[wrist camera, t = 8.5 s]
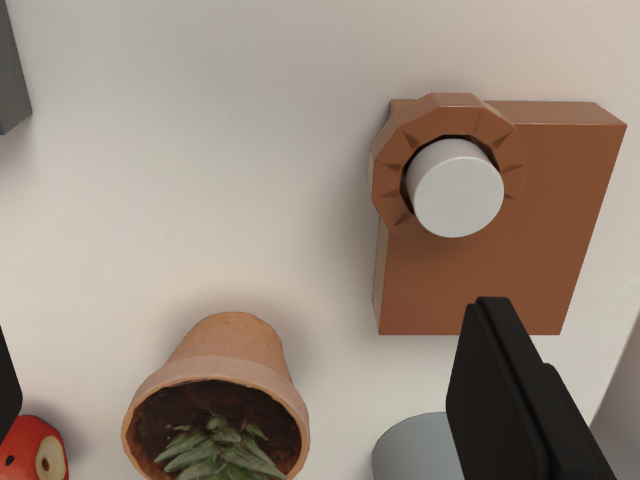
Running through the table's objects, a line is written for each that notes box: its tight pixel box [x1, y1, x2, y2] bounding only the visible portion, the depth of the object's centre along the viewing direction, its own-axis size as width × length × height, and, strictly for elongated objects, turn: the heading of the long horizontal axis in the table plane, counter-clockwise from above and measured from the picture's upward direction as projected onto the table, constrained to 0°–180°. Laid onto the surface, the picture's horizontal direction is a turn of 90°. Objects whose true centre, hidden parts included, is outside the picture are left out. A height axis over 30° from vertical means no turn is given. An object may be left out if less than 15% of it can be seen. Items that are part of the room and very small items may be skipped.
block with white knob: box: [367, 93, 627, 335], centre depth 27 cm, size 13×11×5 cm
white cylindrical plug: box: [406, 139, 504, 238], centre depth 23 cm, size 4×4×2 cm
